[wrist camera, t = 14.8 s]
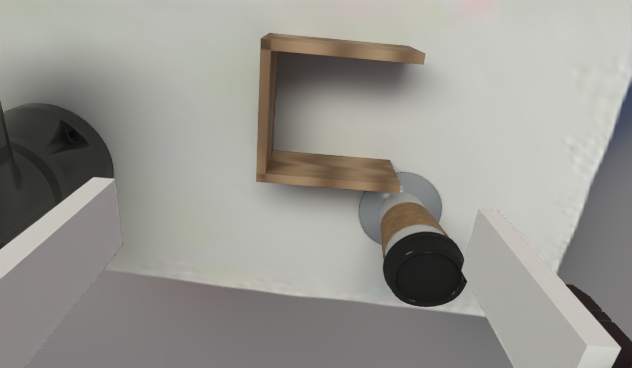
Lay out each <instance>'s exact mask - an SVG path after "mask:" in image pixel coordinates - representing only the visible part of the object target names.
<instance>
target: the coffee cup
mask: <svg viewBox="0 0 632 368" xmlns="http://www.w3.org/2000/svg"><path fill="white" fill-rule="evenodd" d="M379 219H380V228H381V239H382V250H383V259H384V263H383V272H384V277H385V280H386V283H387V285H388V286H389V287H390V289H391V290H392V292H393V293H394V294H395V296H396V297H398V298H399V299H400V300H401V301H403V302H405V303H407V304H410V305H414V306H420V307H431V306H438V305H442V304H445V303H448V302H450V301H452V300H454V299H455V298H456V297H457V296H459V294H460V293H461V292H462V290H463V289H464V287H465V285H466V283H467V280H466V278H465V276H464V275H463V273H462V267H463V264H464V258H463V255H462V253H461V251H460V249H459V248H458V246H457V244H456V243H455V242H454V241H453V240H452V239H450V238H449V237H448V235H447V234H446V233H445V231H444V230H443V229H442V228H441V226H440V225H439V224H438V223H437V221H436V220H435V219H434V218H433V216H432V215H431V214H430V213H429V211H428V210H427V209H426V208H425V206H424V205H423V204H422V202H421V201H420V200H419V199H418V198H417V197H416V196H415V195H413V194H410V193H406V192H400V193H395V194H392V195H390V196H389V197H387V198H386V199H385V200H384V201H383V202H382V204H381V206H380V209H379Z"/></svg>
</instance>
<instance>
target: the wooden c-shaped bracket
mask: <svg viewBox="0 0 632 368" xmlns="http://www.w3.org/2000/svg"><path fill="white" fill-rule="evenodd" d="M278 51H283V52H294V53H305V54H316V55H327V56H338V57H348V58H359V59H370V60H381V61H392V62H403V63H414V64H424V59H425V53H423V52H420V51H418V50H416V49H414V48H412V47H410V46H402V45H391V44H380V43H370V42H359V41H348V40H338V39H327V38H316V37H306V36H295V35H284V34H273V33H269V34H267V35H266V36H264V37H263V38H261V53H260V83H259V113H258V143H257V173H256V182H267V183H279V184H292V185H304V186H316V187H329V188H341V189H353V190H365V191H378V192H390V193H400V188H401V184H400V182H399V180H398V177H397V175H396V173H395V171H394V169H393V167H392V164H391V162H390V160H382V159H370V158H358V157H346V156H335V155H323V154H311V153H299V152H287V151H275V150H273V135H274V114H275V94H276V74H277V53H278Z"/></svg>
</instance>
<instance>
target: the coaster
mask: <svg viewBox="0 0 632 368" xmlns="http://www.w3.org/2000/svg"><path fill="white" fill-rule="evenodd" d="M396 175H397V177H398V180H399V182H400V184H401V188H400V192H406V193H410V194H413V195H415V196H416V197H417V198H418V199H419V200H420V201H421V202H422V204H423V205H424V206H425V208H426V209H427V210H428V211H429V213H430V214H431V215H432V216H433V218H434V219H435V220H436V221H437V223H438V222H439V220H440V216H441V211H442V204H441V199H440V196H439V194H438V192H437V190H436V189H435V187H434V186H433V185H432V184H431V183H430V182H429V181H428V180H427V179H425V178H423V177H421V176H419V175H416V174H413V173H406V172H400V173H396ZM392 194H395V193H390V192H378V191H365V193H364V195H363V197H362V199H361V202H360V206H359V217H360V222H361V225H362V227H363V229H364V231H365V232H366V234H367V235H368V236H369V237H370V238H371V239H373V240H374V241H376V242H378V243H380V244H382V239H381V228H380V219H379V209H380V206H381V204H382V202H383V201H384V200H385V199H386V198H387V197H389V196H390V195H392Z"/></svg>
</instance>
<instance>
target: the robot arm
mask: <svg viewBox="0 0 632 368" xmlns="http://www.w3.org/2000/svg"><path fill="white" fill-rule="evenodd" d="M122 246H123V241H122V233H121V224H120V215H119V206H118V197H117V189H116V180H115V179H113V166H112V161H111V157H110V154H109V151H108V149H107V147H106V145H105V143H104V142H103V140H102V139H101V137H100V136H99V134H98V133H97V132H96V131H95V130H94V129H93V128H92V127H91V126H90V125H89V124H88V123H87V122H86V121H84V120H83V119H82V118H80V117H79V116H77V115H75V114H74V113H72V112H70V111H68V110H65V109H63V108H60V107H57V106H53V105H49V104H27V105H22V106H19V107H16V108H13V109H10V110H8V111H5V112H3V110H2V106H1V102H0V368H25V367H26V365H27V364H28V363H29V362H30V360H31V359H32V358H33V357H34V355H35V354H36V353H37V352H38V350H39V349H40V348H41V347H42V346H43V344H44V343H45V342H46V340H47V339H48V338H49V337H50V335H51V334H52V333H53V332H54V331H55V329H56V328H57V327H58V325H59V324H60V323H61V322H62V321H63V319H64V318H65V317H66V316H67V314H68V313H69V312H70V311H71V309H72V308H73V307H74V306H75V304H76V303H77V302H78V300H79V299H80V298H81V297H82V296H83V294H84V293H85V292H86V291H87V289H88V288H89V287H90V286H91V284H92V283H93V282H94V281H95V279H96V278H97V277H98V276H99V274H100V273H101V272H102V271H103V269H104V268H105V267H106V266H107V265H108V263H109V262H110V261H111V260H112V258H113V257H114V256H115V255H116V253H117V252H118V251H119V250H120V248H121V247H122ZM462 273H463V275H464V276H465V278H466V280H467V282H468V284H469V286H470V288H471V289H472V291H473V293H474V295H475V297H476V299H477V300H478V302H479V304H480V306H481V308H482V310H483V312H484V313H485V315H486V317H487V319H488V321H489V322H490V324H491V326H492V328H493V330H494V332H495V333H496V336H497V337H498V339H499V341H500V343H501V344H502V347H503V348H504V350H505V352H506V354H507V356H508V358H509V359H510V361H511V363H512V365H513V367H514V368H632V341H631V340H630V339H629V338H628V337H627V336H626V335H625V334H624V333H623V332H622V331H621V330H620V328H619V327H618V326H617V325H616V324H615V323H613V322H611V319H610V318H609V317H608V316H607V314H605V312H602V309H601V308H600V307H599V306H598V305H597V304H596V303H595V302H594V301H593V300H592V299H591V297H590V296H588V295H587V294H585V293H584V292H582V291H581V290H579V289H578V288H577V287H575V286H574V285H568V284H564V283H563V282H562V280H561V279H560V278H559V277H558V276H557V275H556V274H555V272H554V271H553V270H552V269H551V268H550V267H549V266H548V265H547V263H546V262H545V261H544V260H543V259H542V258H541V257H540V256H539V254H538V253H537V252H536V251H535V250H534V249H533V248H532V247H531V245H530V244H529V243H528V242H527V241H526V240H525V239H524V237H523V236H522V235H521V234H520V233H519V232H518V231H517V230H516V228H515V227H514V226H513V225H512V224H511V223H510V222H509V221H508V219H507V218H506V217H505V216H504V215H503V214H502V213H501V211H500V210H493V209H481V208H479V209H478V213H477V216H476V220H475V223H474V227H473V231H472V234H471V238H470V242H469V245H468V249H467V253H466V256H465V260H464V264H463V267H462Z"/></svg>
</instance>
